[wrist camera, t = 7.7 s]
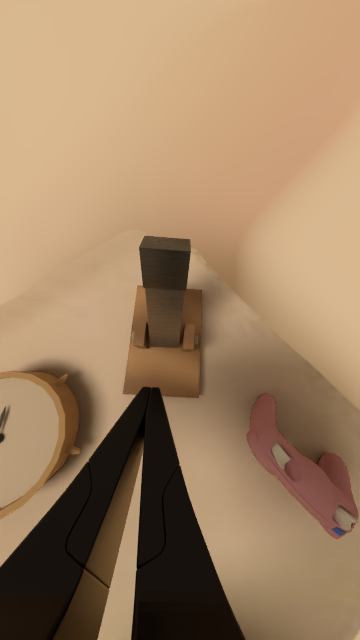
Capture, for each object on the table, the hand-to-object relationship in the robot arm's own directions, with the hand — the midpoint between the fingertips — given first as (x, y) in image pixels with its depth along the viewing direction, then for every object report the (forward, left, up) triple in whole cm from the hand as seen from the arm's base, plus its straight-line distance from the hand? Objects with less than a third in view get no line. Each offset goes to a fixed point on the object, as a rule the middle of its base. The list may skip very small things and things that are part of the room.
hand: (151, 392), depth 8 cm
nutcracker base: (+4, -2, -11) cm, 12 cm away
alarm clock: (+1, +17, -12) cm, 20 cm away
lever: (+4, -2, -9) cm, 10 cm away
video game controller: (-11, -9, -12) cm, 18 cm away
